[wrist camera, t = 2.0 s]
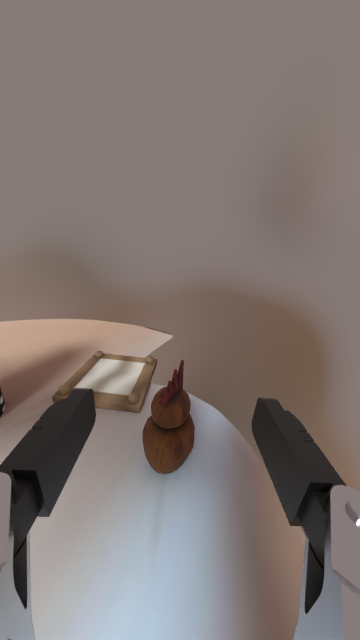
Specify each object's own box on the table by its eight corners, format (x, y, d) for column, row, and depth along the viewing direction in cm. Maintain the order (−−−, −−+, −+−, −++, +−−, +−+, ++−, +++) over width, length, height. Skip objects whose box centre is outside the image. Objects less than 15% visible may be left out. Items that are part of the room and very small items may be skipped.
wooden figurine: (174, 430, 31) (182, 349, 26) (198, 461, 27) (212, 371, 21) (136, 453, 27) (135, 363, 22) (156, 494, 23) (161, 393, 18)
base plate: (53, 402, 34) (51, 392, 34) (96, 356, 49) (95, 349, 49) (139, 412, 34) (139, 403, 33) (156, 363, 49) (157, 355, 48)
